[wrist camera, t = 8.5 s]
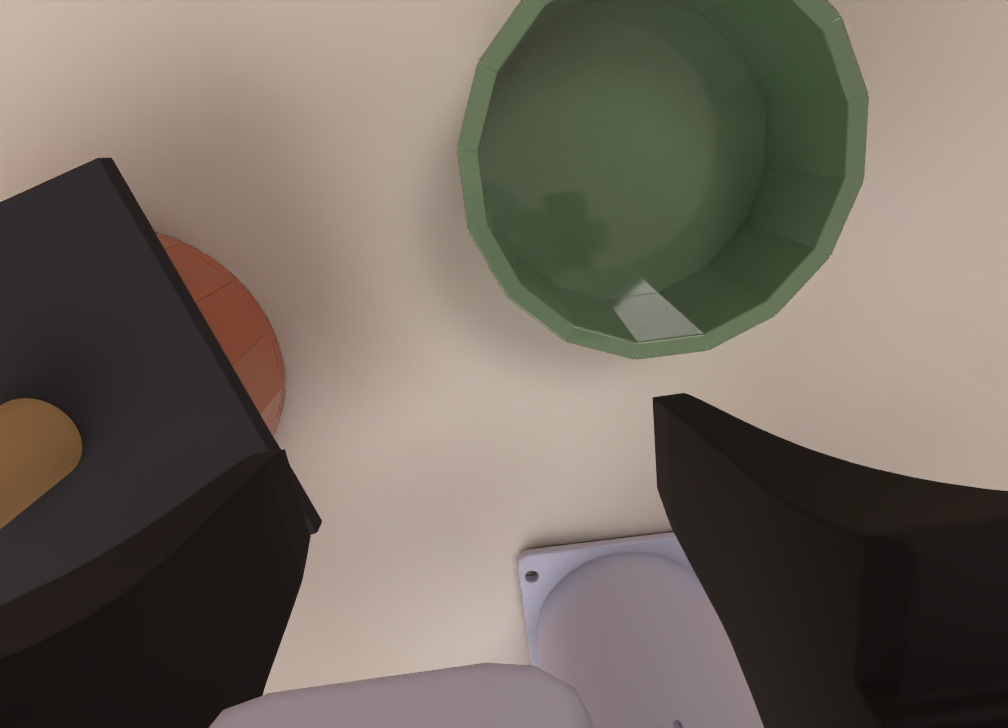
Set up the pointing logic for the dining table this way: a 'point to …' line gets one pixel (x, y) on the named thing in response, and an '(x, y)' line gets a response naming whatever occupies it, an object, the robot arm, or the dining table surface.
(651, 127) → the sage cup
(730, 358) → the dining table surface
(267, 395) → the terracotta cup
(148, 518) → the dark square pegged slab
